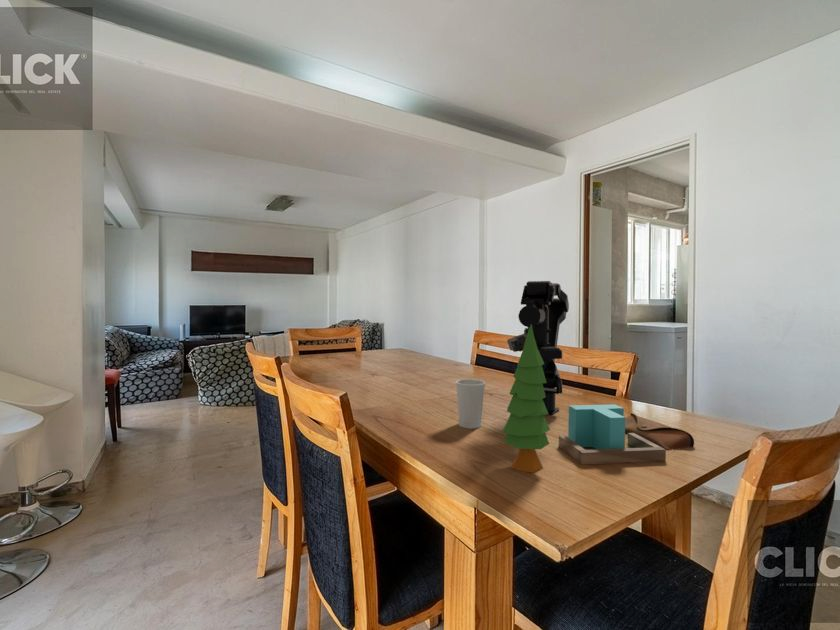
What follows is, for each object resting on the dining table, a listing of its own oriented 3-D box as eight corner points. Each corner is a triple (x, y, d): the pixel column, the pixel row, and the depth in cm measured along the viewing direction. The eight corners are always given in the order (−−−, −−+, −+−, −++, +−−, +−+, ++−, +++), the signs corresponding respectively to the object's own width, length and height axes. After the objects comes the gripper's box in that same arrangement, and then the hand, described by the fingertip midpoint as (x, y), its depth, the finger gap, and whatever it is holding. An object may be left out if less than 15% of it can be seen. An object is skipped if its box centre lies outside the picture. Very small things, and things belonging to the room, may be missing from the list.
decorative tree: (533, 480, 76) (535, 324, 75) (492, 465, 82) (493, 322, 81) (555, 464, 83) (557, 322, 82) (515, 452, 90) (517, 321, 88)
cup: (451, 426, 108) (451, 383, 108) (462, 418, 115) (462, 378, 115) (479, 431, 104) (479, 386, 104) (488, 423, 111) (488, 380, 111)
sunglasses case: (607, 427, 108) (617, 405, 109) (624, 437, 110) (634, 416, 111) (669, 451, 91) (680, 424, 92) (687, 462, 93) (698, 437, 94)
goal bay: (558, 445, 94) (558, 435, 94) (633, 443, 96) (633, 432, 96) (582, 464, 83) (582, 452, 83) (665, 460, 85) (665, 449, 85)
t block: (568, 441, 97) (568, 405, 96) (614, 440, 98) (615, 404, 98) (591, 459, 86) (592, 418, 86) (642, 456, 87) (643, 416, 87)
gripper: (500, 323, 121) (499, 374, 121) (522, 327, 102) (521, 387, 103) (535, 323, 122) (534, 373, 122) (563, 327, 103) (562, 386, 104)
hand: (537, 379), depth 113 cm, fingers closed
